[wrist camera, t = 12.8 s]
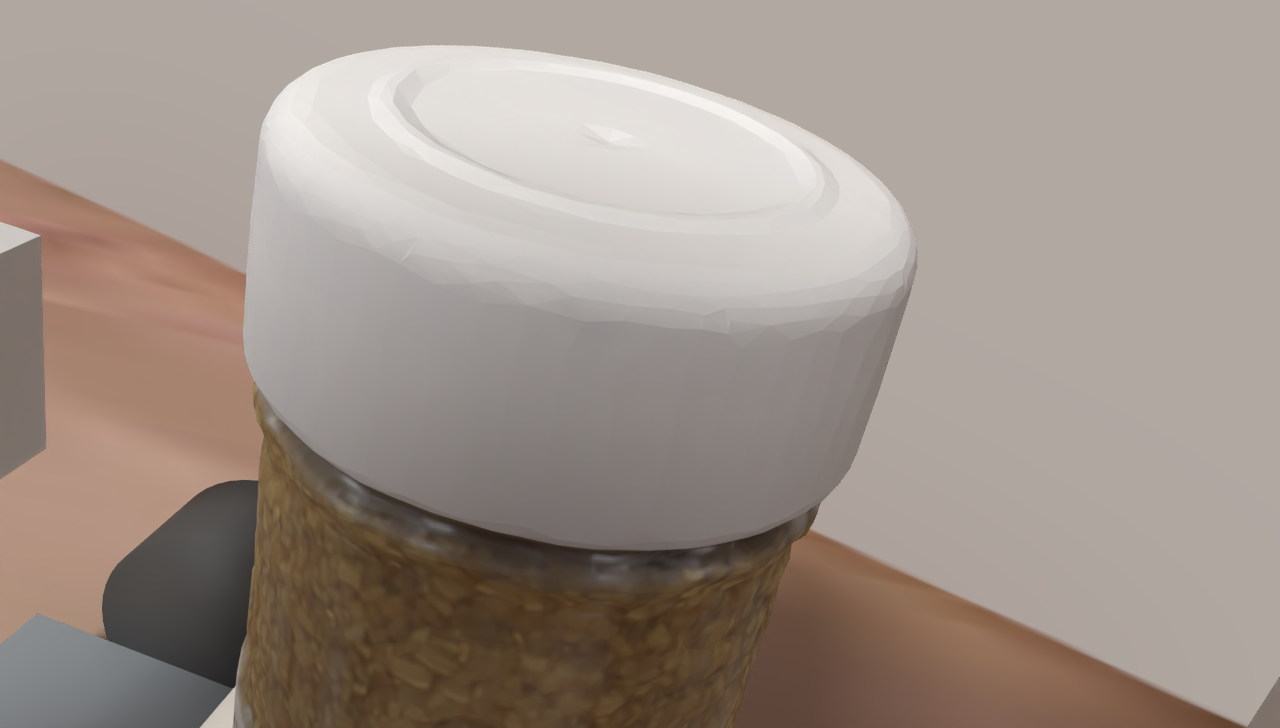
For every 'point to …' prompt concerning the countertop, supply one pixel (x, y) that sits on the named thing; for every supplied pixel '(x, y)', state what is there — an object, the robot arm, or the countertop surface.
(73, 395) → the countertop surface
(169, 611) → the toy chassis
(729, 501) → the spice jar
